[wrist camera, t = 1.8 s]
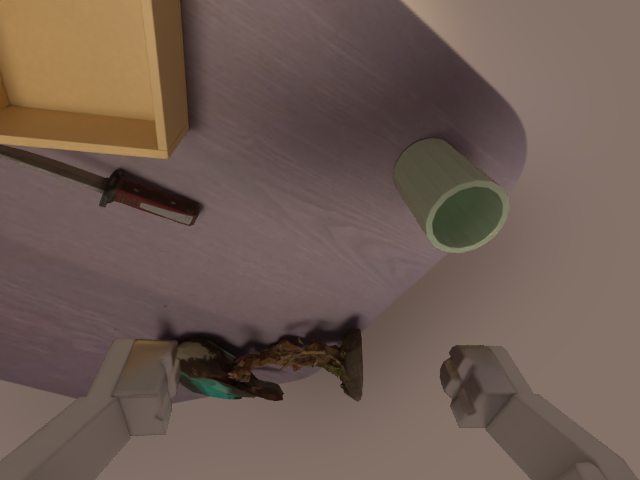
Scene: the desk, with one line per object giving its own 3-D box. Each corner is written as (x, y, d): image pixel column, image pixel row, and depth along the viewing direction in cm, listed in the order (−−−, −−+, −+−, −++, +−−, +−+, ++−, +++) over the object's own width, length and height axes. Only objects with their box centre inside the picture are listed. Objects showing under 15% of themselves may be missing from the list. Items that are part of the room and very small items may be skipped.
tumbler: (403, 134, 31) (442, 176, 24) (467, 141, 32) (524, 184, 24) (386, 196, 34) (415, 250, 27) (444, 201, 35) (488, 255, 28)
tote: (-65, -107, 20) (-192, -147, 15) (175, -62, 22) (142, -82, 17) (9, 110, 27) (-59, 138, 21) (189, 129, 29) (168, 159, 23)
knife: (-16, 124, 27) (-69, 146, 23) (-14, 108, 27) (-68, 128, 22) (197, 214, 33) (186, 244, 29) (202, 203, 33) (191, 232, 29)
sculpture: (371, 381, 33) (109, 381, 33) (359, 410, 44) (164, 410, 45) (365, 302, 38) (136, 303, 38) (355, 346, 49) (179, 346, 49)
